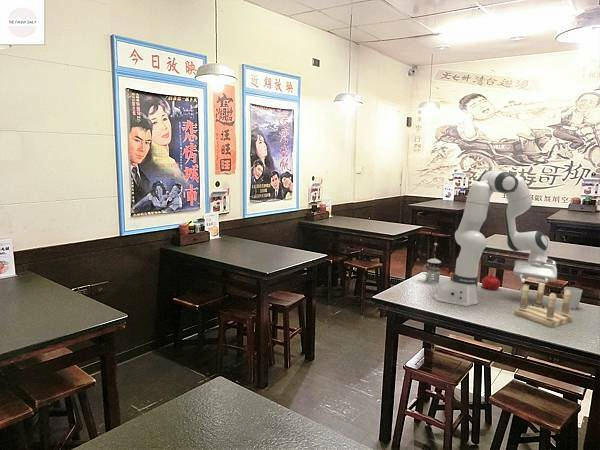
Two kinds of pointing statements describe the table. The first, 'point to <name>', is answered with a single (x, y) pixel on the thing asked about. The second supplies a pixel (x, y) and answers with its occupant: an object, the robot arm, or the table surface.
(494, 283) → the pomegranate
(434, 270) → the french press
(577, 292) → the cup
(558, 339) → the table surface
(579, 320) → the table surface
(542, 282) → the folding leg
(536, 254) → the robot arm
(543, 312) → the stool
